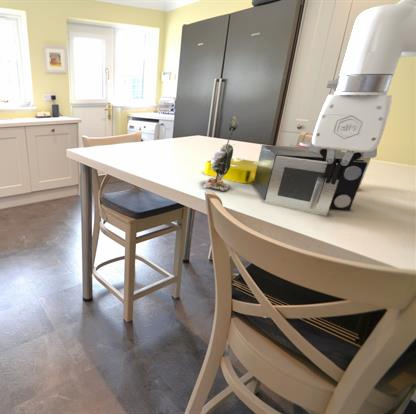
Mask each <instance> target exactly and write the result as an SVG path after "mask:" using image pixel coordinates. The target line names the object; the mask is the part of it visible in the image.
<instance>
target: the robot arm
mask: <svg viewBox="0 0 416 414" xmlns="http://www.w3.org/2000/svg"><path fill="white" fill-rule="evenodd" d="M407 57H408V58H413V57H416V0H400V1H399V2H397V3H390V4H381V5H377V6H373V7H370V8H368V9H365V10H363V11H362V12H360V14H359V15H358V16H357V17H356V19H355V22H354V25H353V27H352V31H351V35H350V38H349V41H348V45H347V48H346V51H345V55H344V58H343V62H342V65H341V68H340V72H339V76H338V77H337V78H336V79H332V80H328V82H327V85H326V88H327V89H331V90H334V93H333V94H328V96H327V97H326V100H324V101H325V102H324V103H323V106H322V108H321V111H320V114H319V115H318V119H317V121H316V124H315V128H314V131H313V134H312V138H311V142H312V143H311V145H310V146H309V150H310V151H313V152H316V153H319V154H321V155H322V157H323V158H324V159H325V160H326V162H327V166H326V169H325V173H324V176H323V178H327V179H326V183H330V182H331V183H332V184H335V183H336V181H337V180H341V179H342V176H343V173H344V170H345V167H346V165H348V164H349V163H351V162H353V161H355V160H357V159H359V158H371V159H373V158H374V159H375V158H376V157H377V155H378V147H379V145H380V143H381V140H382V137H383V135H384V132H385V129H386V126H387V121H388V118H389V115H390V110H391V106H392V98H393V95H390V94H388V91H389V89H390V86H391V83H392V80H393V78H394V75H395V73H396V69H397V67H398V63H399V61H400V58H407ZM336 150H338V151H345V152H344V153H345V155H344V157H343V159H342V160H340V161H339V163H338V164H337V163H336V159H335V155H336ZM355 151H358V152H355ZM354 152H355V153H354ZM336 164H337V165H336ZM335 167H336V168H335ZM334 170H335V171H334ZM332 177H333V178H332ZM331 180H332V181H331Z"/></svg>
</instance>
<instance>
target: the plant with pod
mask: <svg viewBox="0 0 416 414" xmlns="http://www.w3.org/2000/svg"><path fill="white" fill-rule="evenodd" d="M238 126H239V123H238V119H237V118H236V116H235V115H233V116H231V117H230V118H229V124H228V131H229V137H228V140H227V143H225V144H223V145H221V146H220V147H219V148H218V149H217V150H216V151H215V152H214V153H213V155H212V157H211V159H210V160H211V166H212V169H213V171H214V172H216V173H217V175H216V177H215V178H214V177H209V178H208V179H207V180H204V181H203V182H201V185H203V186H202V187H203V189H206V188H212V189H215V190H219V191H220V192H224V191H227V190H228V189H230V185H228V184H227V183H225V182H224V181H223V178H222V177H223V176H224V175H225V174H226V173H227V172H228V170H229V168H230V163H231V158H232V157H233V154H234V147H233V146H235V144H234V143H233V145H232V144H230V140H231V136H232V134H233V132H234V131H236V130H237V128H238Z"/></svg>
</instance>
